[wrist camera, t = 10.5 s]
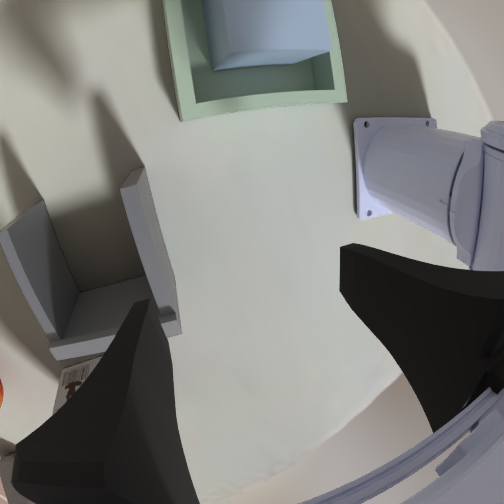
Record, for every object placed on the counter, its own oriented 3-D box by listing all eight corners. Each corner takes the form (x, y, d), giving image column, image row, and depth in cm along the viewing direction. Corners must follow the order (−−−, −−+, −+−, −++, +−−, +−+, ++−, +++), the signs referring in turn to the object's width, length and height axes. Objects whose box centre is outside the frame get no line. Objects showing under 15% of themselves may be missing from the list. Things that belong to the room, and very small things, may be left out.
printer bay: (144, 166, 17) (135, 187, 11) (175, 278, 20) (182, 334, 15) (34, 203, 15) (-9, 238, 10) (75, 303, 19) (56, 360, 14)
